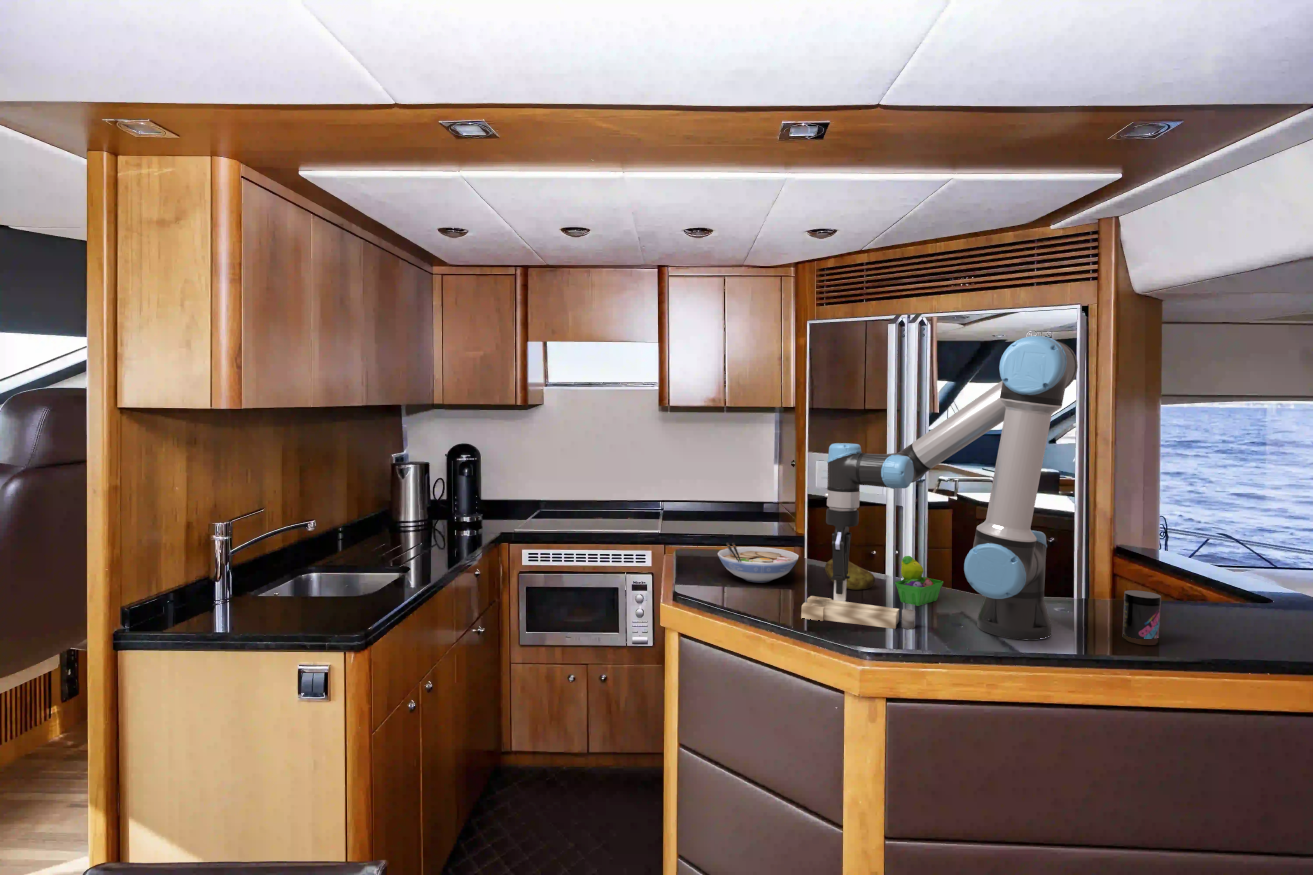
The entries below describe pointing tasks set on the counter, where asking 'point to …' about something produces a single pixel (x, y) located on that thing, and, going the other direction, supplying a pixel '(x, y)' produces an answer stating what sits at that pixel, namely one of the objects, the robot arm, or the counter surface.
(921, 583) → the fruit basket
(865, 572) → the potato
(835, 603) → the bar
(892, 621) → the tongs fixed
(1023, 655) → the counter surface
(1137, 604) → the supplement container
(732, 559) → the ramen bowl
